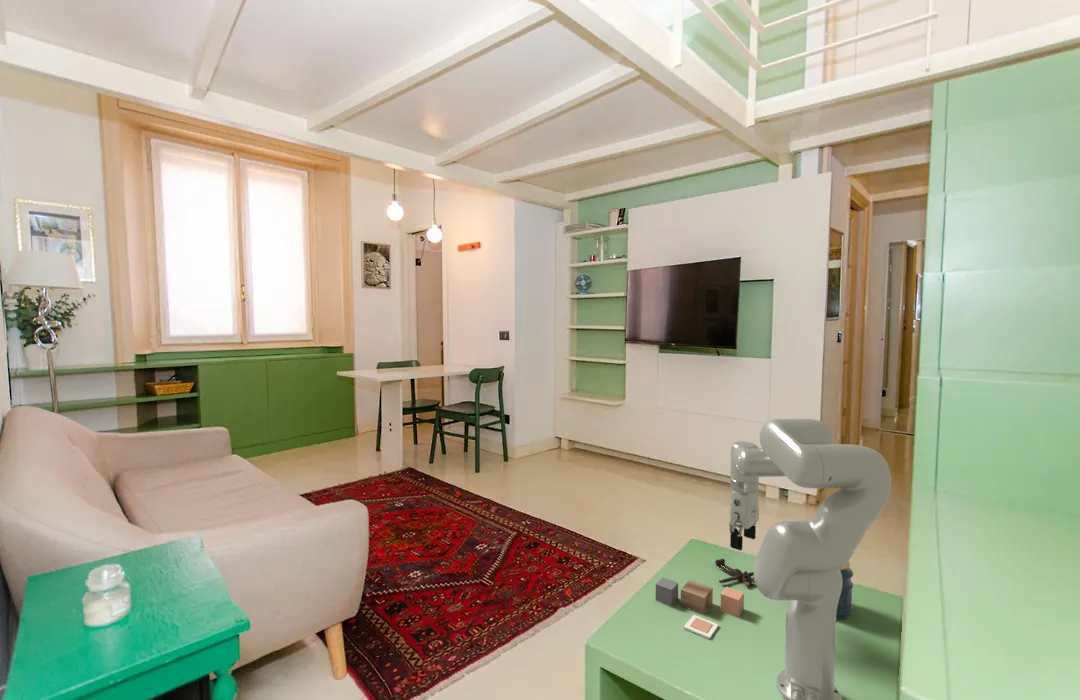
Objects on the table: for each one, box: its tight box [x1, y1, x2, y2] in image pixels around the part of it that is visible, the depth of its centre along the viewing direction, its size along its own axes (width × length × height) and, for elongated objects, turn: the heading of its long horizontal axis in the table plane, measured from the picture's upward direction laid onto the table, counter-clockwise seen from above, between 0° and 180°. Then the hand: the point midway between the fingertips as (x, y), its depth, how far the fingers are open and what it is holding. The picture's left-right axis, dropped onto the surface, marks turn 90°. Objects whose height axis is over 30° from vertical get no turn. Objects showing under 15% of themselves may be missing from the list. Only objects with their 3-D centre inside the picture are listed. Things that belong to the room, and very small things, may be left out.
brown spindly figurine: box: [714, 558, 756, 587], centre depth 154 cm, size 18×4×14 cm
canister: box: [836, 561, 854, 620], centre depth 136 cm, size 13×13×18 cm
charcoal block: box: [655, 577, 679, 607], centre depth 140 cm, size 5×5×5 cm
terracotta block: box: [720, 586, 745, 618], centre depth 135 cm, size 5×5×5 cm
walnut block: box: [680, 579, 714, 615], centre depth 137 cm, size 7×7×5 cm
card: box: [683, 614, 720, 640], centre depth 127 cm, size 7×7×1 cm
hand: (743, 543), depth 135 cm, fingers open, 9 cm apart
